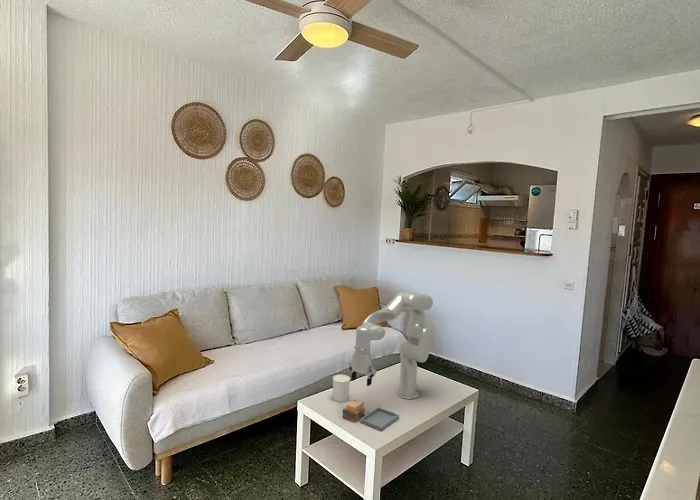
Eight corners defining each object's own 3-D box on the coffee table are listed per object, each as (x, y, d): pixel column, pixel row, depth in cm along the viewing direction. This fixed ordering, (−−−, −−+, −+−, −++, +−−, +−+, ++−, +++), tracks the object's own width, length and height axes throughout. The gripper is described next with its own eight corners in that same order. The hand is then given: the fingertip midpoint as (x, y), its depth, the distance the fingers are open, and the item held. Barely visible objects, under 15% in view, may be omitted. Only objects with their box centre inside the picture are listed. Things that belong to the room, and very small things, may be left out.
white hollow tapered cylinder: (335, 403, 214) (336, 382, 213) (329, 396, 223) (330, 375, 222) (352, 401, 218) (353, 380, 217) (345, 393, 227) (346, 373, 226)
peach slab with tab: (358, 410, 208) (359, 397, 207) (366, 413, 205) (367, 400, 204) (346, 417, 199) (346, 404, 198) (354, 421, 196) (354, 407, 195)
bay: (352, 411, 205) (352, 403, 205) (364, 416, 201) (364, 408, 200) (342, 417, 199) (342, 409, 198) (354, 422, 194) (355, 414, 194)
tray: (378, 410, 208) (378, 406, 208) (398, 418, 200) (399, 414, 200) (360, 422, 194) (360, 418, 194) (381, 431, 187) (381, 427, 187)
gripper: (345, 348, 204) (343, 380, 206) (372, 356, 194) (371, 389, 195) (353, 345, 210) (352, 376, 212) (380, 352, 200) (379, 385, 201)
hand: (361, 382), depth 203 cm, fingers open, 9 cm apart
